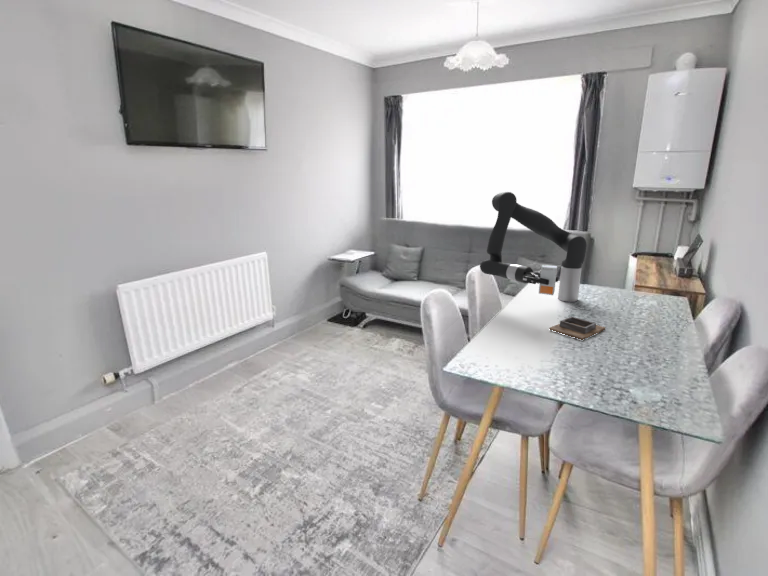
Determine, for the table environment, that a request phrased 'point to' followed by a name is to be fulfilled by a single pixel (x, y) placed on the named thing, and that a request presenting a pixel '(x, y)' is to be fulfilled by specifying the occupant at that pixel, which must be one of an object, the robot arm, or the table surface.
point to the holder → (577, 328)
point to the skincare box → (550, 274)
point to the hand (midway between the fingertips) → (553, 281)
